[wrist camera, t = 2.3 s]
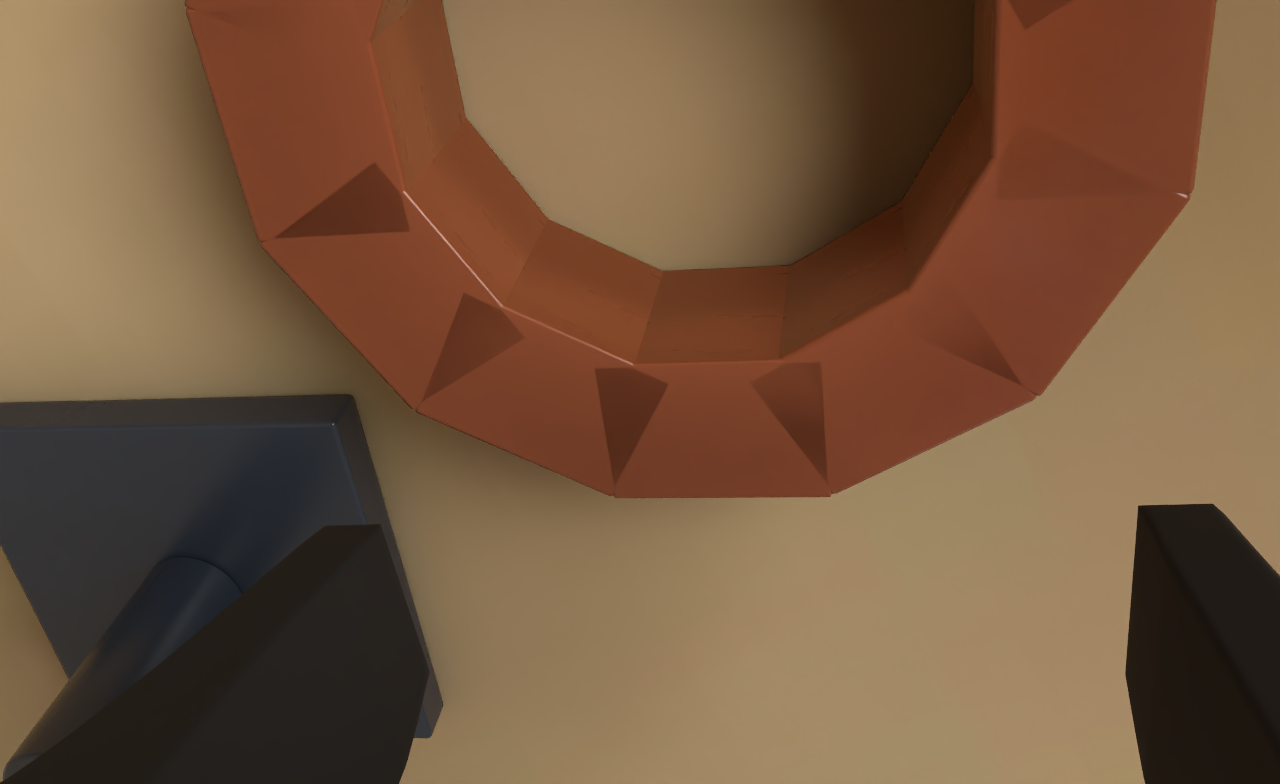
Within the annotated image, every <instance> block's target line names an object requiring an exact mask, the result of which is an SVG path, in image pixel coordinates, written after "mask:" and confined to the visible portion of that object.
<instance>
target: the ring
mask: <svg viewBox="0 0 1280 784" xmlns="http://www.w3.org/2000/svg"><path fill="white" fill-rule="evenodd" d="M1216 2H1217V0H975V19H974V71H973V84H972V85H971V87H970V89H969V90H968V92H967V94H966V95H965V97H964V99H963V100H962V102H961V104H960V105H959V107H958V109H957V110H956V112H955V114H954V115H953V117H952V118H951V120H950V122H949V123H948V125H947V127H946V128H945V130H944V132H943V133H942V135H941V137H940V138H939V140H938V142H937V143H936V145H935V147H934V148H933V150H932V152H931V153H930V155H929V157H928V158H927V160H926V162H925V163H924V165H923V167H922V168H921V170H920V171H919V173H918V175H917V176H916V178H915V180H914V181H913V183H912V185H911V186H910V188H909V190H908V191H907V193H906V195H905V196H904V198H903V200H902V201H901V202H900V203H898V204H896V205H895V206H893V207H891V208H889V209H888V210H886V211H884V212H883V213H881V214H879V215H877V216H876V217H874V218H872V219H871V220H869V221H867V222H865V223H864V224H862V225H860V226H858V227H857V228H855V229H853V230H852V231H850V232H848V233H846V234H845V235H843V236H841V237H839V238H838V239H836V240H834V241H833V242H831V243H829V244H827V245H826V246H824V247H822V248H821V249H819V250H817V251H815V252H814V253H812V254H810V255H808V256H807V257H805V258H803V259H802V260H800V261H798V262H796V263H795V264H793V265H790V266H767V267H743V268H720V269H697V270H674V271H661V270H659V269H657V268H655V267H652V266H650V265H648V264H646V263H644V262H641V261H639V260H637V259H635V258H633V257H630V256H628V255H626V254H624V253H622V252H619V251H617V250H615V249H613V248H611V247H608V246H606V245H604V244H602V243H600V242H597V241H595V240H593V239H591V238H588V237H586V236H584V235H582V234H580V233H577V232H575V231H573V230H571V229H569V228H566V227H564V226H562V225H560V224H558V223H555V222H553V221H551V220H549V219H548V218H547V217H546V216H545V215H544V213H543V212H542V211H541V210H540V208H539V207H538V206H537V205H536V204H535V202H534V201H533V200H532V199H531V197H530V196H529V195H528V194H527V192H526V191H525V190H524V189H523V187H522V186H521V185H520V184H519V183H518V181H517V180H516V179H515V178H514V176H513V175H512V174H511V173H510V171H509V170H508V169H507V168H506V166H505V165H504V164H503V163H502V161H501V160H500V159H499V158H498V157H497V155H496V154H495V153H494V152H493V150H492V149H491V148H490V147H489V145H488V144H487V143H486V142H485V140H484V139H483V138H482V137H481V136H480V134H479V133H478V132H477V131H476V129H475V128H474V127H473V126H472V124H471V123H470V122H469V121H468V119H467V118H466V116H465V112H464V107H463V102H462V97H461V92H460V87H459V83H458V78H457V73H456V68H455V63H454V58H453V53H452V49H451V44H450V39H449V34H448V29H447V24H446V20H445V15H444V10H443V5H442V0H185V6H186V7H187V9H186V14H187V17H188V20H189V24H190V27H191V30H192V33H193V36H194V39H195V43H196V46H197V49H198V52H199V55H200V58H201V62H202V65H203V68H204V71H205V74H206V77H207V81H208V84H209V87H210V90H211V93H212V96H213V100H214V103H215V106H216V109H217V112H218V115H219V119H220V122H221V125H222V128H223V131H224V134H225V137H226V141H227V144H228V147H229V150H230V153H231V156H232V160H233V163H234V166H235V169H236V172H237V175H238V179H239V182H240V185H241V188H242V191H243V194H244V198H245V201H246V204H247V207H248V210H249V213H250V217H251V220H252V223H253V226H254V229H255V232H256V236H257V239H258V240H259V241H260V242H261V244H260V245H261V247H262V248H263V249H264V250H265V251H266V252H267V253H268V254H269V256H270V257H271V258H272V259H273V260H274V261H275V262H276V263H277V264H278V265H279V266H280V267H281V268H282V270H283V271H284V272H285V273H286V274H287V275H288V276H289V277H290V278H291V279H292V280H293V281H294V282H295V284H296V285H297V286H298V287H299V288H300V289H301V290H302V291H303V292H304V293H305V294H306V295H307V297H308V298H309V299H310V300H311V301H312V302H313V303H314V304H315V305H316V306H317V307H318V308H319V309H320V311H321V312H322V313H323V314H324V315H325V316H326V317H327V318H328V319H329V320H330V321H331V322H332V323H333V325H334V326H335V327H336V328H337V329H338V330H339V331H340V332H341V333H342V334H343V335H344V336H345V338H346V339H347V340H348V341H349V342H350V343H351V344H352V345H353V346H354V347H355V348H356V349H357V350H358V352H359V353H360V354H361V355H362V356H363V357H364V358H365V359H366V360H367V361H368V362H369V363H370V365H371V366H372V367H373V368H374V369H375V370H376V371H377V372H378V373H379V374H380V375H381V376H382V377H383V379H384V380H385V381H386V382H387V383H388V384H389V385H390V386H391V387H392V388H393V389H394V390H395V391H396V393H397V394H398V395H399V396H400V397H401V398H402V399H403V400H404V401H405V402H406V403H407V404H408V406H409V407H410V408H412V409H416V412H418V413H419V414H422V415H424V416H426V417H429V418H431V419H433V420H436V421H438V422H440V423H443V424H445V425H447V426H449V427H452V428H454V429H456V430H459V431H461V432H463V433H466V434H468V435H470V436H473V437H475V438H477V439H479V440H482V441H484V442H486V443H489V444H491V445H493V446H496V447H498V448H500V449H503V450H505V451H507V452H510V453H512V454H514V455H516V456H519V457H521V458H523V459H526V460H528V461H530V462H533V463H535V464H537V465H540V466H542V467H544V468H546V469H549V470H551V471H553V472H556V473H558V474H560V475H563V476H565V477H567V478H570V479H572V480H574V481H576V482H579V483H581V484H583V485H586V486H588V487H590V488H593V489H595V490H597V491H600V492H602V493H604V494H606V495H609V496H613V495H614V497H615V498H731V497H830V496H831V494H836V493H838V492H841V491H843V490H845V489H847V488H849V487H851V486H853V485H855V484H857V483H860V482H862V481H864V480H866V479H868V478H870V477H872V476H874V475H876V474H878V473H881V472H883V471H885V470H887V469H889V468H891V467H893V466H895V465H897V464H900V463H902V462H904V461H906V460H908V459H910V458H912V457H914V456H916V455H919V454H921V453H923V452H925V451H927V450H929V449H931V448H933V447H935V446H938V445H940V444H942V443H944V442H946V441H948V440H950V439H952V438H954V437H956V436H959V435H961V434H963V433H965V432H967V431H969V430H971V429H973V428H975V427H978V426H980V425H982V424H984V423H986V422H988V421H990V420H992V419H994V418H997V417H999V416H1001V415H1003V414H1005V413H1007V412H1009V411H1011V410H1013V409H1015V408H1018V407H1020V406H1022V405H1024V404H1026V403H1028V402H1030V401H1032V400H1034V399H1035V398H1036V396H1037V395H1038V396H1040V395H1041V394H1042V393H1043V392H1044V390H1045V389H1046V388H1047V386H1048V385H1049V384H1050V383H1051V381H1052V380H1053V379H1054V377H1055V376H1056V375H1057V373H1058V372H1059V371H1060V369H1061V368H1062V367H1063V365H1064V364H1065V363H1066V361H1067V360H1068V359H1069V358H1070V356H1071V355H1072V354H1073V352H1074V351H1075V350H1076V348H1077V347H1078V346H1079V344H1080V343H1081V342H1082V340H1083V339H1084V338H1085V336H1086V335H1087V334H1088V333H1089V331H1090V330H1091V329H1092V327H1093V326H1094V325H1095V323H1096V322H1097V321H1098V319H1099V318H1100V317H1101V315H1102V314H1103V313H1104V312H1105V310H1106V309H1107V308H1108V306H1109V305H1110V304H1111V302H1112V301H1113V300H1114V298H1115V297H1116V296H1117V294H1118V293H1119V292H1120V290H1121V289H1122V288H1123V287H1124V285H1125V284H1126V283H1127V281H1128V280H1129V279H1130V277H1131V276H1132V275H1133V273H1134V272H1135V271H1136V269H1137V268H1138V267H1139V265H1140V264H1141V263H1142V262H1143V260H1144V259H1145V258H1146V256H1147V255H1148V254H1149V252H1150V251H1151V250H1152V248H1153V247H1154V246H1155V244H1156V243H1157V242H1158V240H1159V239H1160V238H1161V237H1162V235H1163V234H1164V233H1165V231H1166V230H1167V229H1168V227H1169V226H1170V225H1171V223H1172V222H1173V221H1174V219H1175V218H1176V217H1177V215H1178V214H1179V213H1180V212H1181V210H1182V209H1183V208H1184V206H1185V205H1186V204H1187V202H1188V201H1189V199H1190V193H1192V191H1193V189H1194V183H1195V175H1196V167H1197V158H1198V150H1199V142H1200V134H1201V126H1202V117H1203V109H1204V101H1205V93H1206V85H1207V76H1208V68H1209V60H1210V52H1211V43H1212V35H1213V27H1214V19H1215V11H1216Z"/></svg>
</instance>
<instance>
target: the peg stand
mask: <svg viewBox="0 0 1280 784" xmlns="http://www.w3.org/2000/svg"><path fill="white" fill-rule="evenodd" d="M374 524H381V527H382V530H383V533H384V536H385V539H386V542H387V545H388V548H389V551H390V554H391V557H392V560H393V563H394V566H395V569H396V572H397V575H398V578H399V581H400V584H401V587H402V590H403V593H404V596H405V599H406V602H407V605H408V608H409V611H410V614H411V617H412V620H413V623H414V626H415V629H416V632H417V635H418V638H419V641H420V644H421V647H422V650H423V653H424V656H425V659H426V662H427V665H428V668H429V671H430V672H429V677H428V681H427V685H426V689H425V693H424V698H423V702H422V706H421V710H420V715H419V719H418V723H417V727H416V730H415V734H414V738H430V737H431V736H432V733H433V731H434V728H435V726H436V723H437V720H438V718H439V715H440V713H441V710H442V707H443V701H442V698H441V694H440V691H439V688H438V684H437V681H436V677H435V674H434V671H433V667H432V664H431V660H430V657H429V654H428V650H427V647H426V643H425V640H424V636H423V633H422V630H421V626H420V623H419V619H418V616H417V613H416V609H415V606H414V602H413V599H412V595H411V592H410V589H409V585H408V582H407V578H406V575H405V572H404V568H403V565H402V561H401V558H400V554H399V551H398V548H397V544H396V541H395V537H394V534H393V531H392V527H391V524H390V520H389V517H388V514H387V510H386V507H385V503H384V500H383V496H382V493H381V490H380V486H379V483H378V479H377V476H376V473H375V469H374V466H373V462H372V459H371V455H370V452H369V449H368V445H367V442H366V438H365V435H364V432H363V428H362V425H361V421H360V418H359V414H358V411H357V408H356V404H355V401H354V398H353V396H352V395H310V396H268V397H226V398H184V399H143V400H101V401H59V402H17V403H0V545H1V547H2V549H3V551H4V553H5V555H6V557H7V559H8V561H9V563H10V565H11V567H12V569H13V571H14V573H15V575H16V577H17V579H18V580H19V582H20V584H21V586H22V588H23V590H24V592H25V594H26V596H27V598H28V600H29V602H30V604H31V606H32V608H33V610H34V612H35V614H36V616H37V618H38V620H39V622H40V624H41V625H42V627H43V629H44V631H45V633H46V635H47V637H48V639H49V641H50V643H51V645H52V647H53V649H54V651H55V653H56V655H57V657H58V659H59V661H60V663H61V665H62V667H63V669H64V671H65V672H66V674H67V676H68V678H69V681H68V682H67V684H66V685H65V686H64V688H63V689H62V690H61V692H60V693H59V694H58V696H57V697H56V699H55V700H54V701H53V703H52V704H51V705H50V707H49V708H48V709H47V711H46V712H45V713H44V715H43V716H42V717H41V719H40V720H39V721H38V723H37V724H36V725H35V727H34V728H33V729H32V731H31V732H30V733H29V735H28V736H27V737H26V739H25V740H24V741H23V743H22V744H21V745H20V747H19V748H18V749H17V751H16V752H15V753H14V755H13V756H12V757H11V759H10V760H9V761H8V763H7V764H6V766H5V769H4V773H3V781H4V780H5V779H7V778H8V777H10V776H11V775H13V774H14V773H16V772H17V771H19V770H20V769H22V768H23V767H25V766H26V765H28V764H29V763H30V762H32V761H33V760H35V759H36V758H37V757H39V756H40V755H42V754H43V753H44V752H46V751H47V750H49V749H50V748H52V747H53V746H54V745H56V744H57V743H58V742H60V741H61V740H62V739H64V738H65V737H67V736H68V735H69V734H71V733H72V732H73V731H75V730H76V729H77V728H79V727H80V726H81V725H82V724H84V723H85V722H86V721H87V720H89V719H90V718H91V717H93V716H94V715H95V714H96V713H98V712H99V711H100V710H101V709H103V708H104V707H105V706H107V705H108V704H109V703H110V702H112V701H113V700H114V699H116V698H117V697H118V696H119V695H121V694H122V693H123V692H124V691H126V690H127V689H128V688H130V687H131V686H132V685H133V684H135V683H136V682H137V681H138V680H140V679H141V678H142V677H144V676H145V675H146V674H147V673H149V672H150V671H151V670H152V669H154V668H155V667H156V666H158V665H159V664H160V663H161V662H163V661H164V660H165V659H166V658H167V657H169V656H170V655H171V654H172V653H173V652H175V651H176V650H177V649H178V648H179V647H180V646H182V645H183V644H184V643H185V642H186V641H188V640H189V639H190V638H191V637H192V636H193V635H195V634H196V633H197V632H198V631H199V630H201V629H202V628H203V627H204V626H205V625H206V624H208V623H209V622H210V621H211V620H212V619H214V618H215V617H216V616H217V615H218V614H219V613H221V612H222V611H223V610H224V609H225V608H227V607H228V606H229V605H230V604H231V603H232V602H234V601H235V600H236V599H237V598H238V597H239V596H241V595H242V594H243V593H244V592H245V591H246V590H248V589H249V588H250V587H251V586H252V585H253V584H255V583H256V582H257V581H258V580H259V579H260V578H262V577H263V576H264V575H265V574H266V573H267V572H269V571H270V570H271V569H272V568H273V567H274V566H276V565H277V564H278V563H279V562H280V561H282V560H283V559H284V558H285V557H286V556H288V555H289V554H290V553H291V552H292V551H294V550H295V549H296V548H297V547H298V546H300V545H301V544H302V543H303V542H305V541H306V540H307V539H308V538H310V537H311V536H312V535H314V534H315V533H316V532H318V531H319V530H320V529H322V528H323V527H324V526H334V525H374Z"/></svg>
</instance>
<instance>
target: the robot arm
mask: <svg viewBox="0 0 1280 784" xmlns="http://www.w3.org/2000/svg"><path fill="white" fill-rule="evenodd" d="M429 672H430V671H429V668H428V665H427V662H426V659H425V656H424V653H423V650H422V647H421V644H420V641H419V638H418V635H417V632H416V629H415V626H414V623H413V620H412V617H411V614H410V611H409V608H408V605H407V602H406V599H405V596H404V593H403V590H402V587H401V584H400V581H399V578H398V575H397V572H396V569H395V566H394V563H393V560H392V557H391V554H390V551H389V548H388V545H387V542H386V539H385V536H384V533H383V530H382V527H381V524H374V525H334V526H324V527H323V528H322V529H320V530H319V531H318V532H316V533H315V534H314V535H312V536H311V537H310V538H308V539H307V540H306V541H305V542H303V543H302V544H301V545H300V546H298V547H297V548H296V549H295V550H294V551H292V552H291V553H290V554H289V555H288V556H286V557H285V558H284V559H283V560H282V561H280V562H279V563H278V564H277V565H276V566H274V567H273V568H272V569H271V570H270V571H269V572H267V573H266V574H265V575H264V576H263V577H262V578H260V579H259V580H258V581H257V582H256V583H255V584H253V585H252V586H251V587H250V588H249V589H248V590H246V591H245V592H244V593H243V594H242V595H241V596H239V597H238V598H237V599H236V600H235V601H234V602H232V603H231V604H230V605H229V606H228V607H227V608H225V609H224V610H223V611H222V612H221V613H219V614H218V615H217V616H216V617H215V618H214V619H212V620H211V621H210V622H209V623H208V624H206V625H205V626H204V627H203V628H202V629H201V630H199V631H198V632H197V633H196V634H195V635H193V636H192V637H191V638H190V639H189V640H188V641H186V642H185V643H184V644H183V645H182V646H180V647H179V648H178V649H177V650H176V651H175V652H173V653H172V654H171V655H170V656H169V657H167V658H166V659H165V660H164V661H163V662H161V663H160V664H159V665H158V666H156V667H155V668H154V669H152V670H151V671H150V672H149V673H147V674H146V675H145V676H144V677H142V678H141V679H140V680H138V681H137V682H136V683H135V684H133V685H132V686H131V687H130V688H128V689H127V690H126V691H124V692H123V693H122V694H121V695H119V696H118V697H117V698H116V699H114V700H113V701H112V702H110V703H109V704H108V705H107V706H105V707H104V708H103V709H101V710H100V711H99V712H98V713H96V714H95V715H94V716H93V717H91V718H90V719H89V720H87V721H86V722H85V723H84V724H82V725H81V726H80V727H79V728H77V729H76V730H75V731H73V732H72V733H71V734H69V735H68V736H67V737H65V738H64V739H62V740H61V741H60V742H58V743H57V744H56V745H54V746H53V747H52V748H50V749H49V750H47V751H46V752H44V753H43V754H42V755H40V756H39V757H37V758H36V759H35V760H33V761H32V762H30V763H29V764H28V765H26V766H25V767H23V768H22V769H20V770H19V771H17V772H16V773H14V774H13V775H11V776H10V777H8V778H7V779H5V780H4V781H2V782H1V783H0V784H399V782H400V779H401V777H402V774H403V771H404V769H405V766H406V763H407V760H408V756H409V752H410V749H411V745H412V741H413V738H414V734H415V730H416V727H417V723H418V719H419V715H420V710H421V706H422V702H423V698H424V693H425V689H426V685H427V681H428V677H429ZM1125 674H1126V680H1127V686H1128V692H1129V698H1130V704H1131V709H1132V715H1133V721H1134V727H1135V733H1136V738H1137V744H1138V749H1139V754H1140V760H1141V765H1142V770H1143V776H1144V780H1145V783H1146V784H1280V576H1279V575H1278V573H1277V572H1276V571H1275V570H1274V569H1273V568H1272V567H1271V566H1270V565H1269V564H1268V562H1267V561H1266V560H1265V559H1264V558H1263V557H1262V556H1261V555H1260V554H1259V552H1258V551H1257V550H1256V549H1255V548H1254V547H1253V546H1252V545H1251V544H1250V542H1249V541H1248V540H1247V539H1246V538H1245V537H1244V536H1243V535H1242V533H1241V532H1240V531H1239V530H1238V529H1237V528H1236V527H1235V525H1234V524H1233V523H1232V522H1231V521H1230V520H1229V519H1228V518H1227V516H1226V515H1225V514H1224V513H1223V512H1221V511H1220V510H1219V509H1218V508H1217V507H1216V506H1215V505H1214V504H1186V505H1145V506H1138V518H1137V531H1136V544H1135V557H1134V569H1133V582H1132V595H1131V608H1130V621H1129V634H1128V647H1127V660H1126V673H1125Z"/></svg>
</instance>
